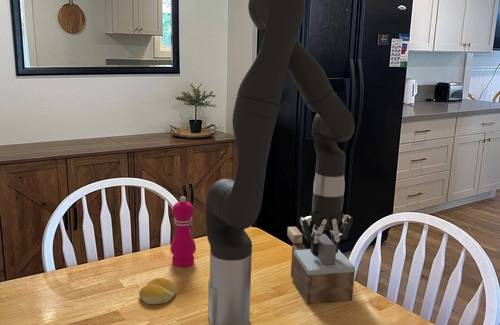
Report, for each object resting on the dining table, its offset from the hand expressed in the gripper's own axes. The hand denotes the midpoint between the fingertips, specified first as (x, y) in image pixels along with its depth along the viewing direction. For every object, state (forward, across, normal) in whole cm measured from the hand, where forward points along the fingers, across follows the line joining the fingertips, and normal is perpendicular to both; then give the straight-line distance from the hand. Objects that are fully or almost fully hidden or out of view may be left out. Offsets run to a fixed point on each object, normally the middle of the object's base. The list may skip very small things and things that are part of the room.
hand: (323, 254), depth 126 cm
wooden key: (+1, +4, -12) cm, 13 cm away
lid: (+3, 0, 0) cm, 3 cm away
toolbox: (+10, 0, -2) cm, 10 cm away
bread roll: (+11, +42, -4) cm, 43 cm away
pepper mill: (+10, +34, -22) cm, 42 cm away
